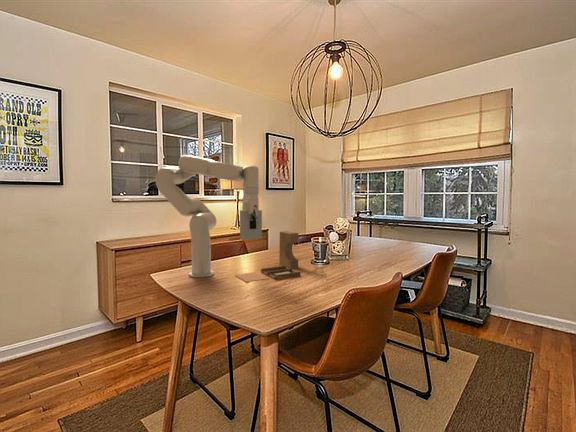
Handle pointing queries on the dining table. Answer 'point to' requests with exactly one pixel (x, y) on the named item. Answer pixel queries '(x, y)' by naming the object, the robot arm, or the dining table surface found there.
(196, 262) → the robot arm
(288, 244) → the decorative block
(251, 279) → the terracotta mat
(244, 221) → the grey rectangular block
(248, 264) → the dining table surface
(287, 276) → the tray
